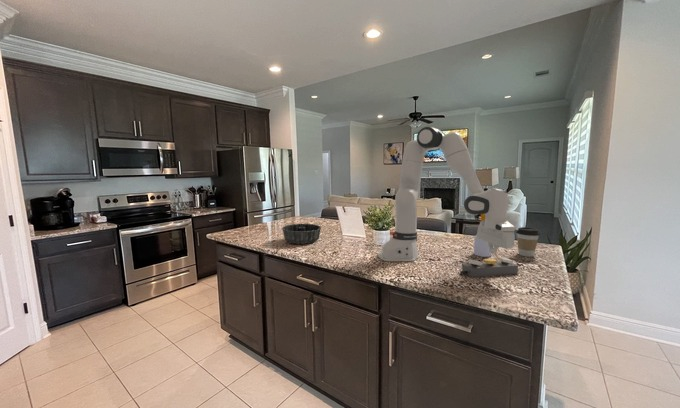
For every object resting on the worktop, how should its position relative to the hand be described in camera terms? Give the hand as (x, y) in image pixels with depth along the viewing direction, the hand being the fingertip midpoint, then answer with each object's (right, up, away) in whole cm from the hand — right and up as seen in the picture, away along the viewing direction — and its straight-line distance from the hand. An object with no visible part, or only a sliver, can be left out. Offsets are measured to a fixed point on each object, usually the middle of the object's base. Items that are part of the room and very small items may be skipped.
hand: (492, 252), depth 133 cm
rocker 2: (-1, -5, 0) cm, 5 cm away
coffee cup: (+34, -6, +29) cm, 45 cm away
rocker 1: (-9, -5, -1) cm, 11 cm away
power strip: (-3, -10, 0) cm, 10 cm away
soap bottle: (+10, -6, +29) cm, 31 cm away
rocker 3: (+7, -5, +2) cm, 8 cm away
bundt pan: (-97, -3, +61) cm, 115 cm away
